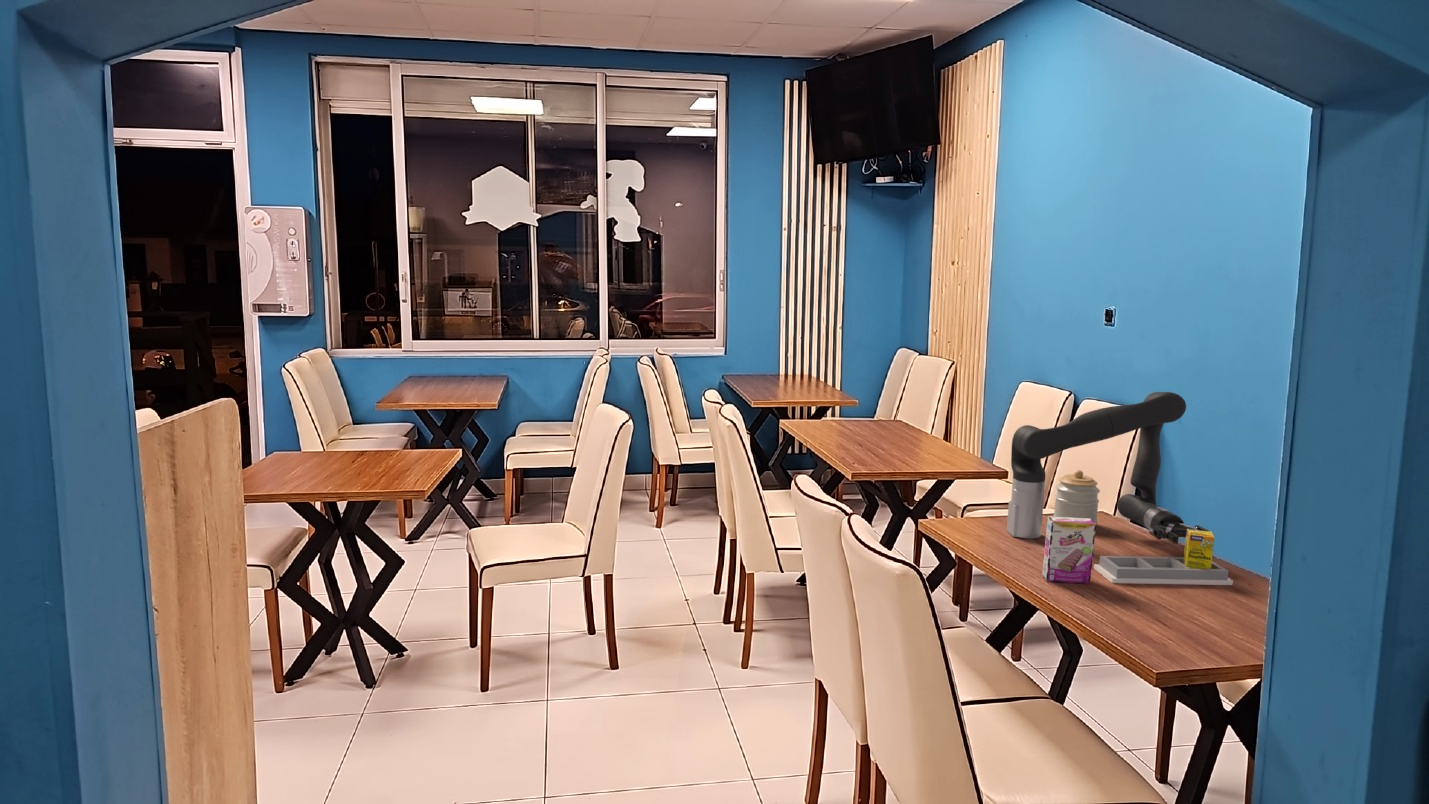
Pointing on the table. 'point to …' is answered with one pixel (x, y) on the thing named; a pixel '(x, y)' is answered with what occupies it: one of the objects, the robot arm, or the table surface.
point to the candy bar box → (1069, 549)
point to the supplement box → (1198, 549)
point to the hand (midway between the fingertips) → (1193, 540)
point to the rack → (1159, 571)
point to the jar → (1077, 497)
